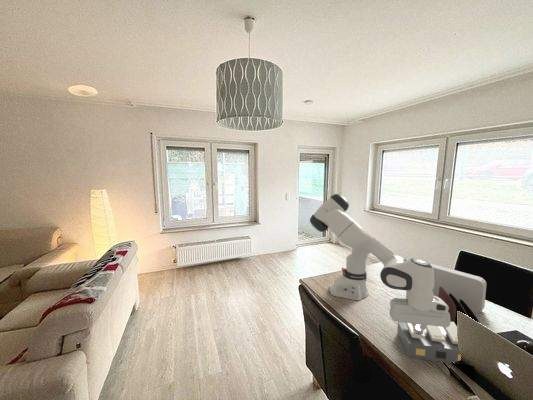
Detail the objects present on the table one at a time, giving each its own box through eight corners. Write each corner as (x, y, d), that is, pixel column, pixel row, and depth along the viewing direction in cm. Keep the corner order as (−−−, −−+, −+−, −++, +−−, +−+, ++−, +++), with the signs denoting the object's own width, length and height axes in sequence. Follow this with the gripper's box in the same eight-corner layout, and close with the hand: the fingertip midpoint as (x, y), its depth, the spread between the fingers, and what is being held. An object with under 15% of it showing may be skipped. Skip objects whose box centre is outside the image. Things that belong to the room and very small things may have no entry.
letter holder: (451, 334, 98) (453, 305, 97) (436, 308, 117) (438, 283, 115) (480, 339, 95) (483, 309, 93) (460, 312, 113) (462, 287, 111)
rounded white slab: (485, 310, 114) (488, 277, 112) (481, 315, 110) (483, 281, 108) (422, 287, 138) (424, 260, 136) (417, 291, 134) (418, 263, 132)
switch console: (408, 357, 87) (409, 340, 86) (397, 333, 100) (397, 319, 99) (474, 367, 81) (476, 349, 81) (453, 341, 94) (455, 325, 93)
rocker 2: (431, 340, 86) (432, 337, 86) (422, 321, 94) (422, 318, 94) (444, 342, 85) (445, 339, 85) (433, 322, 93) (434, 319, 93)
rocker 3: (452, 343, 85) (453, 340, 84) (440, 323, 93) (441, 320, 92) (466, 345, 84) (467, 342, 83) (453, 324, 92) (453, 321, 91)
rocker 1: (412, 337, 88) (412, 333, 87) (404, 320, 96) (404, 316, 96) (424, 339, 87) (425, 335, 86) (415, 321, 95) (415, 318, 95)
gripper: (392, 301, 86) (391, 334, 87) (453, 307, 81) (451, 342, 82) (387, 293, 92) (387, 324, 93) (444, 298, 87) (442, 330, 88)
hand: (418, 332), depth 88 cm, fingers closed
